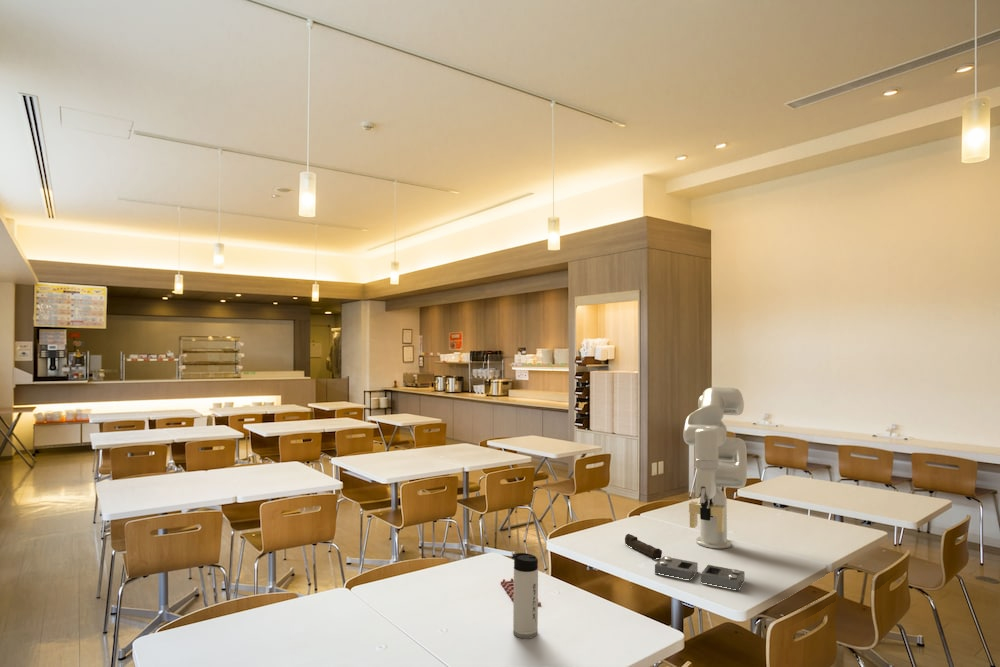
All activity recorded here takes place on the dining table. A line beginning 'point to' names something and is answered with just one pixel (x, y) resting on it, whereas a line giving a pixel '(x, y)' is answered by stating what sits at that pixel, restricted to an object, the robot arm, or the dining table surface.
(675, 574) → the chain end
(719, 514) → the link
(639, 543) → the dark brown rod
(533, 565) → the travel mug
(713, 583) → the block
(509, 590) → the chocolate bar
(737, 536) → the dining table surface
